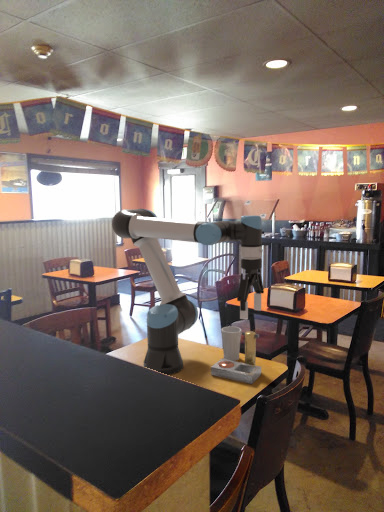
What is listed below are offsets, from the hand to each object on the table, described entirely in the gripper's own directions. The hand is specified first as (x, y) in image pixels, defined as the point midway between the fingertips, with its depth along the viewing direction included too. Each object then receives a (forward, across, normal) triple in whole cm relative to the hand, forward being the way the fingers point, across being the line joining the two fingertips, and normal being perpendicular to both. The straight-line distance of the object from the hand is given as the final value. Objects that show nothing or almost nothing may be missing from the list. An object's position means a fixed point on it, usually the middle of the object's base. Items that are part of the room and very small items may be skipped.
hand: (251, 314), depth 146 cm
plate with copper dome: (+21, -8, +3) cm, 23 cm away
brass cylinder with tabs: (+21, 0, 0) cm, 21 cm away
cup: (+21, +6, +11) cm, 25 cm away
